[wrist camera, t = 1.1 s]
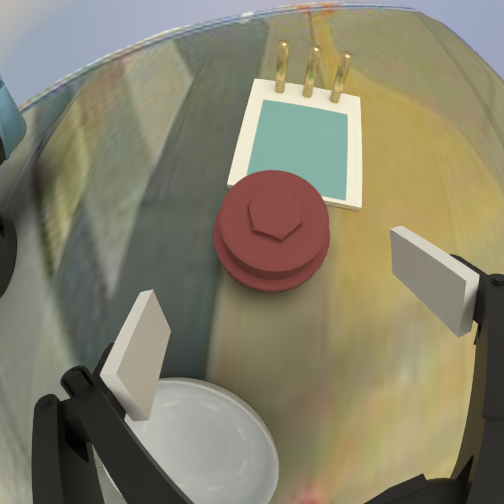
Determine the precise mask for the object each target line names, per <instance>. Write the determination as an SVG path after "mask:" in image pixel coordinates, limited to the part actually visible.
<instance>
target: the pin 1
mask: <svg viewBox="0 0 504 504" xmlns="http://www.w3.org/2000/svg"><path fill="white" fill-rule="evenodd" d="M289 46H290V42H289V41H287V40H280V41H279V43H278V56H277V69H276V81H275V92H276V93H279V94H281V93H284V91H285V82H286V73H287V64H288V55H289Z"/></svg>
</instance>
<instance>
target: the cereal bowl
mask: <svg viewBox="0 0 504 504" xmlns="http://www.w3.org/2000/svg"><path fill="white" fill-rule="evenodd" d="M124 420H125V422H126V423H127V424H128V425H129V427H130V428H131V430H132V431H133V432H134V434H135V435H136V436H137V438H138V439H139V440H140V442H141V443H142V444H143V446H144V447H145V448H146V449H147V451H148V452H149V453H150V454H151V456H152V457H153V458H154V459H155V461H156V462H157V463H158V464H159V465H160V467H161V468H162V469H163V470H164V471H165V472H166V474H167V475H168V476H169V477H170V478H171V479H172V480H173V481H174V483H175V484H176V485H177V486H178V487H179V488H180V489H181V490H182V491H183V492H184V493H185V494H186V495H187V496H188V497H189V499H190V500H191V501H192V502H193V503H194V504H268V502H269V501H270V499H271V498H272V496H273V494H274V492H275V489H276V486H277V483H278V478H279V459H278V454H277V450H276V446H275V443H274V441H273V438H272V436H271V434H270V432H269V430H268V428H267V426H266V424H265V423H264V422H263V421H262V418H260V416H259V415H258V414H257V413H256V411H255V410H254V409H252V408H251V407H250V406H249V405H248V404H247V403H246V402H245V401H244V400H242V399H241V398H239V397H238V396H237V395H235V394H233V393H232V392H229V391H228V390H226V389H224V388H222V387H219V386H218V385H214V384H213V383H209V382H206V381H202V380H197V379H191V378H184V377H183V378H180V377H176V378H174V377H172V378H162V379H158V383H157V387H156V392H155V396H154V400H153V404H152V409H151V413H150V418H149V421H135V422H133V421H132V420H131V418H130V417H129V416H128V414H127V413H126V416H125V419H124ZM102 464H103V463H102ZM103 467H104V469H105V471H106V474H107V476H108V477H109V479H110V481H111V483H112V484H113V486H114V487H115V488H116V490H117V491H118V492H119V493H120V491H119V490H118V488H117V487H116V485H115V483H114V482H113V480H112V478H111V477H110V475H109V473H108V472H107V470H106V468H105V466H104V465H103ZM120 494H121V493H120ZM121 496H122V495H121ZM122 497H123V496H122Z"/></svg>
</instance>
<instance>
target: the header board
mask: <svg viewBox="0 0 504 504" xmlns="http://www.w3.org/2000/svg"><path fill="white" fill-rule="evenodd" d="M303 87H304V86H303V85H297V84H291V83H285V91H284V93H281V94H279V93H276V92H275V81H270V80H262V79H254V83H253V86H252V90H251V93H250V97H249V101H248V104H247V108H246V112H245V116H244V119H243V123H242V127H241V131H240V135H239V138H238V142H237V146H236V150H235V154H234V158H233V162H232V166H231V170H230V174H229V178H228V182H227V187H228V189H231V187H232V186H234V185H235V184H236V183H237V182H238V181H239V180H241V179H242V178H244V177H246V176H248V175H250V174H252V173H256V172H259V171H265V170H280V171H286V172H290V173H293V174H295V175H298V176H300V177H301V178H303V179H305V180H306V181H308V182H309V183H310V184H311V185H312V186H313V187H314V188H315V189H316V190H317V191H318V192H319V194H320V195H321V197H322V198H323V200H324V202H325V205H330V206H335V207H341V208H346V209H351V210H355V211H359V210H360V209H361V205H362V135H361V111H360V97H356V96H352V95H347V94H343V93H341V96H340V99H339V102H338V103H336V104H335V103H332V102H331V101H330V100H329V99H330V95H331V92H332V91H329V90H325V89H319V88H313V93H312V97H311V98H305V97H304V96H303V95H302V93H303Z"/></svg>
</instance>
